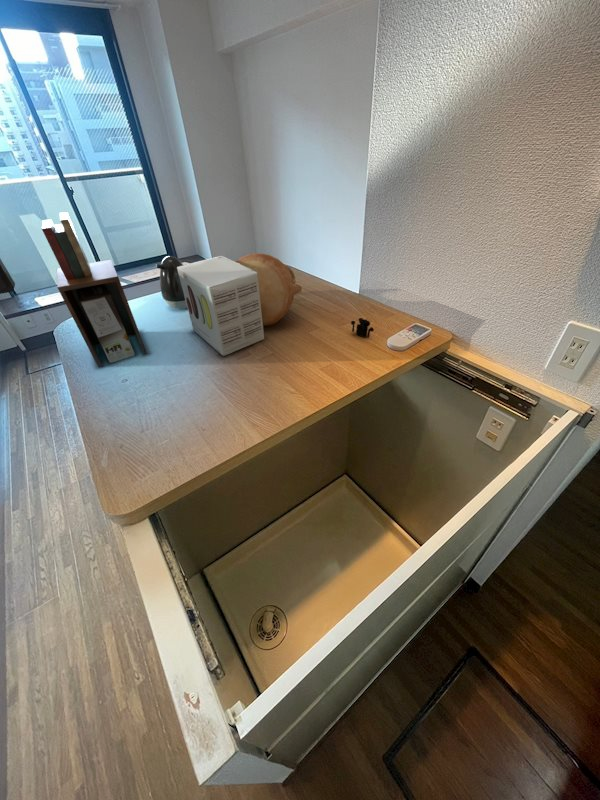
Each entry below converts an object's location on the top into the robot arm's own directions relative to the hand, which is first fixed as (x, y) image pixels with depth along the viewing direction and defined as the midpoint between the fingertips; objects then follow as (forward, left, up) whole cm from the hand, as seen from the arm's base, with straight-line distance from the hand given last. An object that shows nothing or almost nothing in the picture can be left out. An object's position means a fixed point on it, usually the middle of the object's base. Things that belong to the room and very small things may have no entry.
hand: (4, 290), depth 36 cm
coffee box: (+6, +40, -32) cm, 52 cm away
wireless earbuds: (+65, +14, -32) cm, 74 cm away
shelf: (+6, +41, -32) cm, 52 cm away
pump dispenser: (+27, +59, -32) cm, 72 cm away
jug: (+50, +40, -32) cm, 72 cm away
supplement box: (+33, +33, -32) cm, 56 cm away
